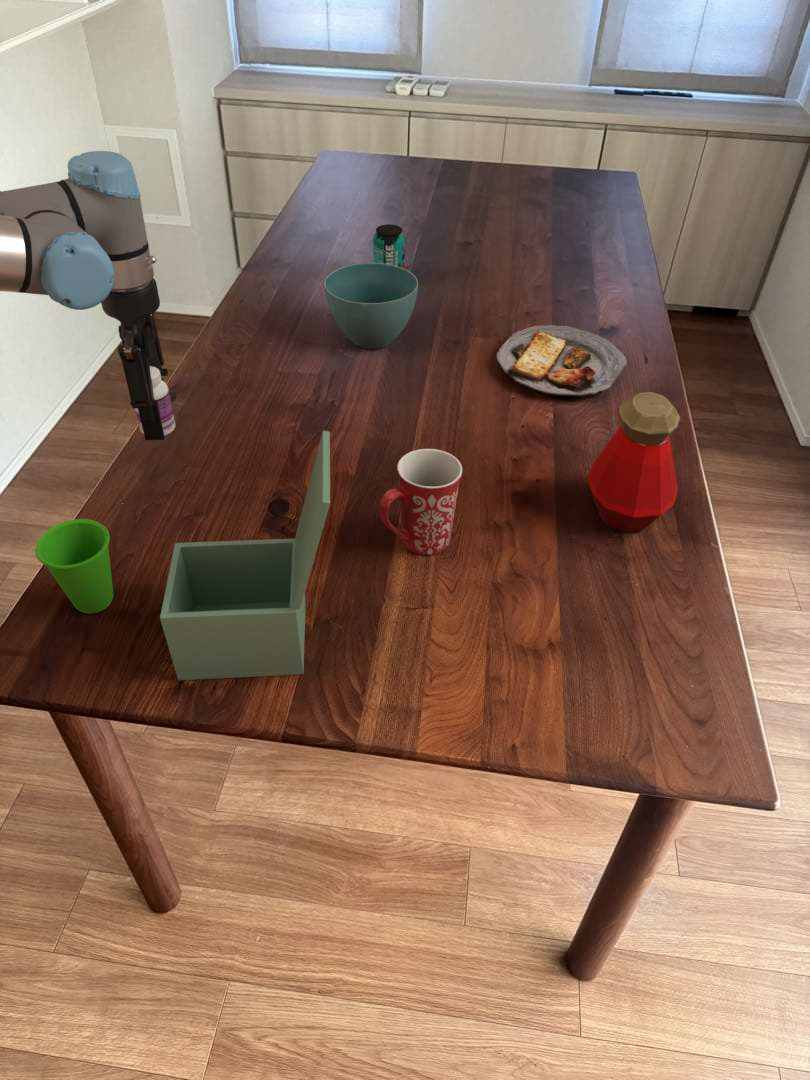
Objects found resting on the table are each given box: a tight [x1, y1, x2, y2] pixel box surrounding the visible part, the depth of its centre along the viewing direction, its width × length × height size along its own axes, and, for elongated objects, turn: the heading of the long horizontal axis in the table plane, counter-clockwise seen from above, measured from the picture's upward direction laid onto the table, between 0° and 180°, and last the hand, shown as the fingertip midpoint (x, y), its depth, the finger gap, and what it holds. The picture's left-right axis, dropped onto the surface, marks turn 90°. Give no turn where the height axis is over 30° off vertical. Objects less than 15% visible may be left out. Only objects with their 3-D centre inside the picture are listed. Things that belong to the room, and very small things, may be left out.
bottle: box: [586, 391, 681, 534], centre depth 117 cm, size 16×14×20 cm
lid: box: [293, 430, 331, 610], centre depth 91 cm, size 17×13×1 cm
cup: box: [35, 518, 114, 615], centre depth 105 cm, size 9×9×11 cm
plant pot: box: [323, 262, 419, 350], centre depth 158 cm, size 18×18×12 cm
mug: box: [378, 448, 463, 556], centre depth 113 cm, size 13×9×14 cm
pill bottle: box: [134, 366, 176, 437], centre depth 117 cm, size 5×5×10 cm
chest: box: [159, 538, 306, 681], centre depth 100 cm, size 16×13×12 cm
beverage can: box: [372, 223, 406, 269], centre depth 177 cm, size 7×7×12 cm
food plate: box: [495, 324, 627, 398], centre depth 154 cm, size 25×23×4 cm
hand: (158, 426), depth 121 cm, fingers closed on pill bottle, 5 cm apart
